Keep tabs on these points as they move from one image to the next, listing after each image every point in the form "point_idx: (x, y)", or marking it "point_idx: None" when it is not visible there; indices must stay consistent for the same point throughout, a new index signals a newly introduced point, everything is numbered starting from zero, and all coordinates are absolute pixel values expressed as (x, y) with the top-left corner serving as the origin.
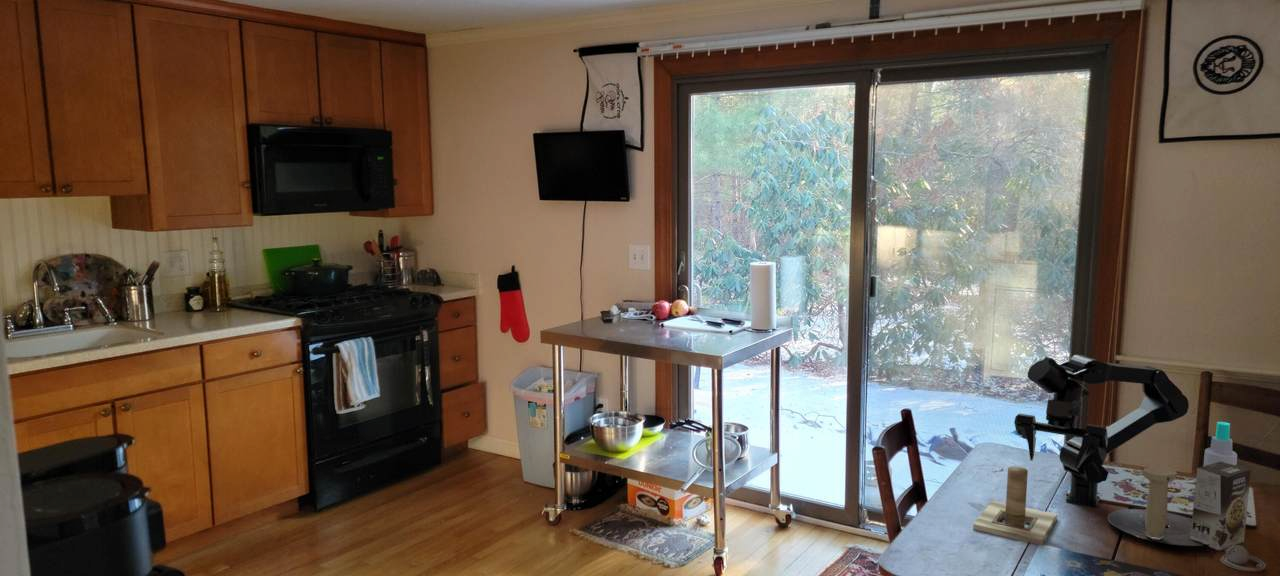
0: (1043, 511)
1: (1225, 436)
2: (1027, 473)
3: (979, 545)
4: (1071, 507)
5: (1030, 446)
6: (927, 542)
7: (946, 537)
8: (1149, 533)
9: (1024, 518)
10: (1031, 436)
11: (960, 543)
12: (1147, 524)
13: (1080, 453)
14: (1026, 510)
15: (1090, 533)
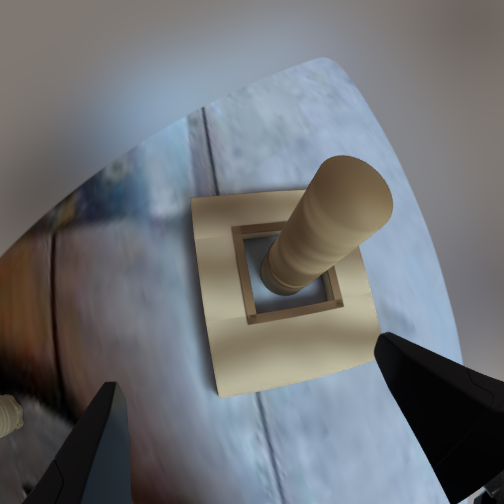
0: (257, 389)
1: None
2: (314, 199)
3: (286, 137)
4: (222, 498)
5: (444, 365)
6: (346, 112)
7: (342, 139)
8: (9, 400)
9: (266, 264)
10: (497, 402)
11: (313, 129)
12: (1, 402)
13: (78, 454)
14: (296, 361)
15: (116, 356)
